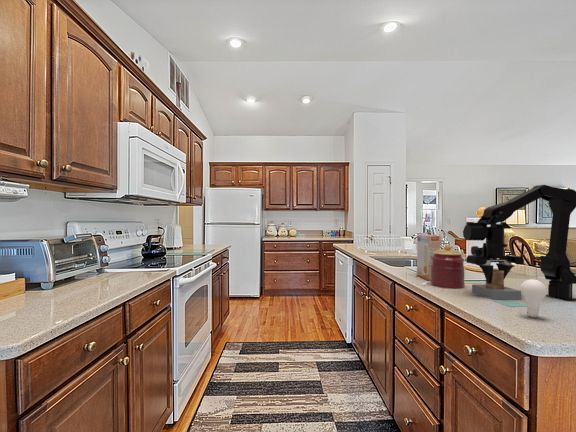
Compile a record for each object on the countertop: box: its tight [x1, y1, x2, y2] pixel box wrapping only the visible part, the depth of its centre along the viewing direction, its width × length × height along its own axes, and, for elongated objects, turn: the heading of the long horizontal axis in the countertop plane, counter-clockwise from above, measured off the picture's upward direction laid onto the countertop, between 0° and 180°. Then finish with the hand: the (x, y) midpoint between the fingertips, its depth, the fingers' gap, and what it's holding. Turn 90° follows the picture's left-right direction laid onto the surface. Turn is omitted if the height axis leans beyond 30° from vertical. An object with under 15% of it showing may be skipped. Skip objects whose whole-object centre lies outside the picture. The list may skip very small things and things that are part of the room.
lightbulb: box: [519, 278, 548, 318], centre depth 96 cm, size 6×6×11 cm
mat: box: [493, 300, 527, 308], centre depth 109 cm, size 7×7×1 cm
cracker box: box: [416, 233, 442, 282], centre depth 158 cm, size 14×6×21 cm, turn 179°
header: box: [471, 283, 522, 301], centre depth 120 cm, size 10×12×4 cm
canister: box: [430, 244, 466, 290], centre depth 139 cm, size 13×13×18 cm
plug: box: [485, 268, 505, 289], centre depth 120 cm, size 4×4×9 cm
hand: (494, 283), depth 120 cm, fingers closed on plug, 4 cm apart
